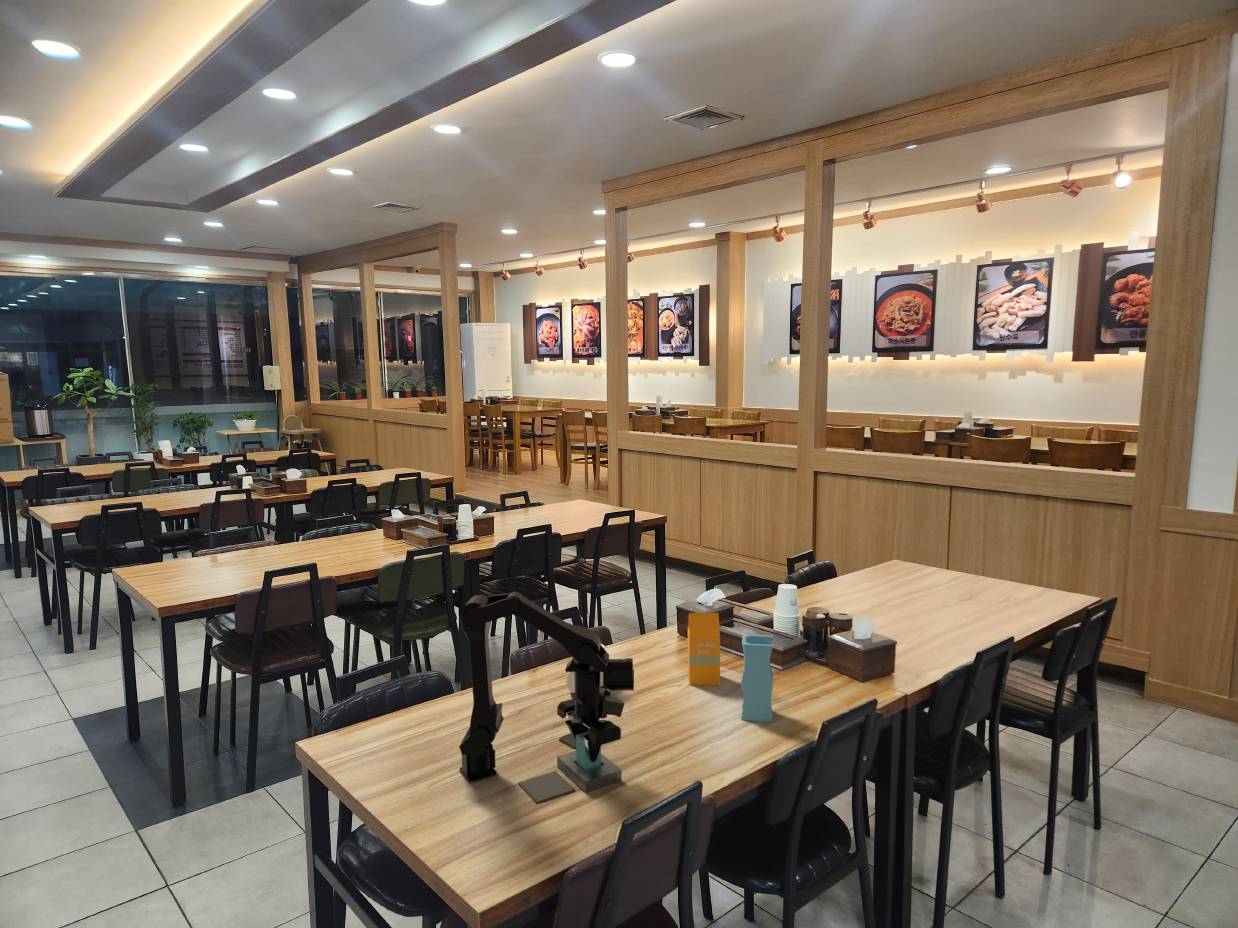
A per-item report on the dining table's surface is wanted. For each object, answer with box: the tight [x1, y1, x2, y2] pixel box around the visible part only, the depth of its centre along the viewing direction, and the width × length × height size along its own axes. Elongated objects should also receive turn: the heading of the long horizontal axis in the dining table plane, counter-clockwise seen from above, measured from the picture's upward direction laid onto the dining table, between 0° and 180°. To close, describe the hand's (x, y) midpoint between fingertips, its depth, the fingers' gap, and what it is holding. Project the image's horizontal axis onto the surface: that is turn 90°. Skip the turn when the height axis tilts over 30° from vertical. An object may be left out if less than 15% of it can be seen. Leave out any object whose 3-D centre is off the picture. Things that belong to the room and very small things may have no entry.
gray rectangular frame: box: [556, 750, 623, 794], centre depth 167 cm, size 9×13×2 cm
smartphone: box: [558, 719, 621, 750], centre depth 186 cm, size 7×1×15 cm
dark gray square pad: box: [517, 770, 576, 804], centre depth 162 cm, size 9×9×1 cm
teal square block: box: [575, 732, 602, 771], centre depth 167 cm, size 4×4×8 cm
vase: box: [740, 634, 774, 723], centre depth 195 cm, size 8×8×20 cm
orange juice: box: [687, 612, 721, 686], centre depth 218 cm, size 8×9×20 cm
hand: (588, 757), depth 167 cm, fingers closed on teal square block, 4 cm apart
